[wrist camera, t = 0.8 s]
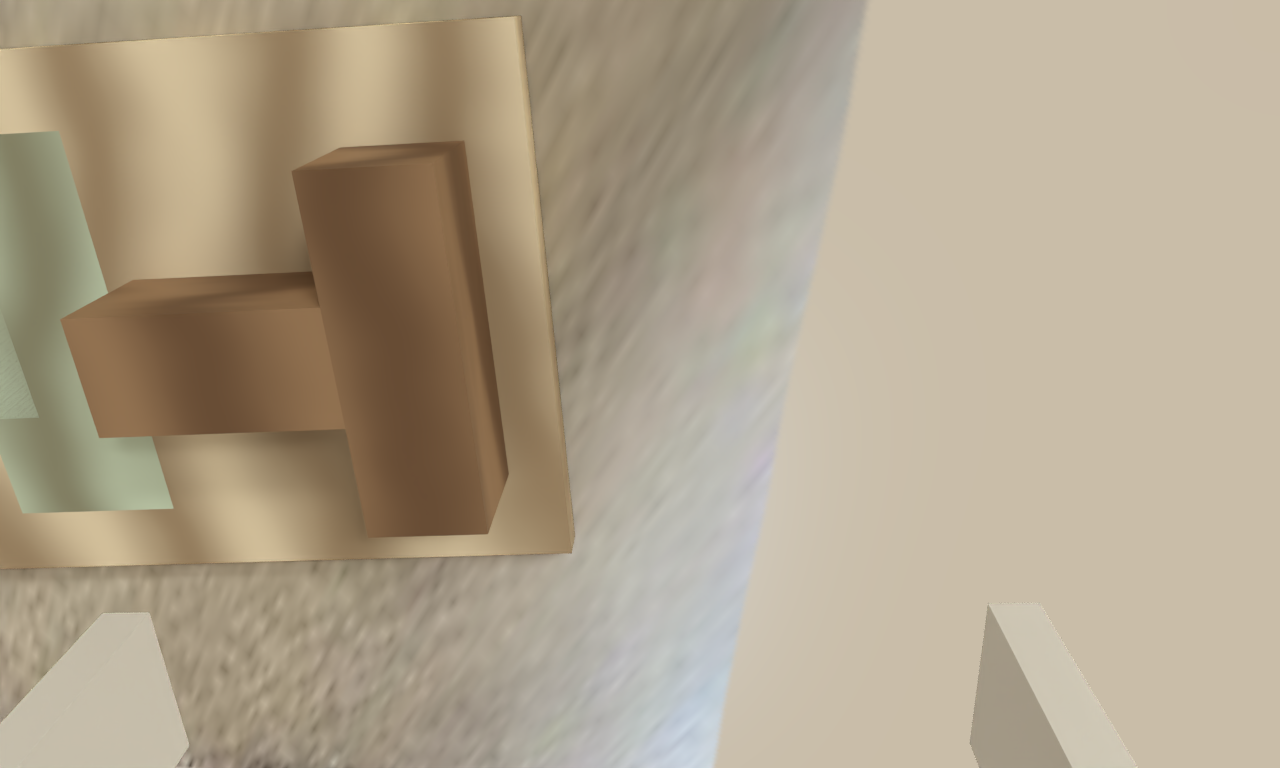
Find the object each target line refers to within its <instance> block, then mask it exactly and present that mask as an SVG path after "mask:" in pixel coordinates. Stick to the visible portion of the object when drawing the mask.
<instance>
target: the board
mask: <svg viewBox="0 0 1280 768" xmlns="http://www.w3.org/2000/svg"><path fill="white" fill-rule="evenodd" d="M446 141H465V149H466V156H467V164H468V171H469V179H470V186H471V194H472V201H473V209H474V216H475V224H476V231H477V239H478V246H479V254H480V261H481V269H482V276H483V284H484V291H485V299H486V306H487V314H488V321H489V329H490V336H491V344H492V351H493V359H494V366H495V374H496V381H497V389H498V396H499V404H500V411H501V419H502V426H503V434H504V441H505V449H506V456H507V464H508V471H509V475H508V478H507V481H506V484H505V487H504V490H503V493H502V496H501V498H500V501H499V504H498V507H497V510H496V513H495V516H494V518H493V521H492V524H491V527H490V530H489V533H488V534H483V535H449V536H414V537H380V538H368V535H367V530H366V525H365V520H364V516H363V511H362V506H361V501H360V496H359V492H358V487H357V482H356V477H355V473H354V468H353V463H352V458H351V454H350V449H349V444H348V439H347V434H346V430H345V429H336V430H309V431H282V432H254V433H227V434H200V435H172V436H145V437H118V438H99V436H98V433H97V430H96V427H95V424H94V421H93V418H92V415H91V412H90V409H89V406H88V403H87V400H86V397H85V394H84V391H83V388H82V385H81V382H80V379H79V376H78V373H77V369H76V366H75V363H74V360H73V357H72V354H71V351H70V348H69V345H68V342H67V339H66V336H65V333H64V330H63V327H62V324H61V321H60V319H62V318H63V317H65V316H67V315H69V314H71V313H73V312H75V311H76V310H78V309H80V308H82V307H84V306H86V305H87V304H89V303H91V302H93V301H95V300H97V299H98V298H100V297H102V296H104V295H106V294H108V293H110V292H111V291H113V290H115V289H117V288H119V287H121V286H122V285H124V284H126V283H128V282H130V281H132V280H141V279H163V278H184V277H205V276H226V275H247V274H268V273H289V272H310V271H312V267H311V263H310V258H309V253H308V248H307V244H306V239H305V234H304V229H303V225H302V220H301V215H300V210H299V205H298V201H297V196H296V191H295V186H294V182H293V177H292V172H291V171H292V170H294V169H297V168H299V167H301V166H303V165H305V164H307V163H309V162H311V161H313V160H315V159H317V158H319V157H321V156H323V155H326V154H328V153H330V152H332V151H334V150H336V149H338V148H340V147H356V146H374V145H392V144H410V143H428V142H446ZM574 538H575V532H574V523H573V513H572V503H571V494H570V484H569V474H568V465H567V455H566V446H565V436H564V426H563V417H562V407H561V397H560V388H559V378H558V369H557V359H556V349H555V340H554V330H553V320H552V311H551V301H550V291H549V282H548V272H547V263H546V253H545V243H544V234H543V224H542V214H541V205H540V195H539V186H538V176H537V166H536V157H535V147H534V137H533V128H532V118H531V108H530V99H529V89H528V80H527V70H526V60H525V51H524V41H523V31H522V22H521V16H509V17H493V18H477V19H462V20H446V21H430V22H415V23H399V24H384V25H368V26H352V27H337V28H321V29H305V30H290V31H274V32H259V33H243V34H227V35H212V36H196V37H180V38H165V39H149V40H134V41H118V42H102V43H87V44H71V45H55V46H40V47H24V48H9V49H0V569H19V568H55V567H91V566H127V565H163V564H199V563H235V562H271V561H307V560H343V559H379V558H415V557H451V556H487V555H523V554H559V553H572V548H573V543H574Z"/></svg>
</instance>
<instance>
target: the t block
mask: <svg viewBox="0 0 1280 768" xmlns="http://www.w3.org/2000/svg"><path fill="white" fill-rule="evenodd" d="M291 172H292V177H293V182H294V186H295V191H296V196H297V201H298V205H299V210H300V215H301V220H302V225H303V229H304V234H305V239H306V244H307V248H308V253H309V258H310V263H311V267H312V271H310V272H289V273H268V274H247V275H226V276H205V277H184V278H163V279H141V280H132V281H130V282H128V283H126V284H124V285H122V286H121V287H119V288H117V289H115V290H113V291H111V292H110V293H108V294H106V295H104V296H102V297H100V298H98V299H97V300H95V301H93V302H91V303H89V304H87V305H86V306H84V307H82V308H80V309H78V310H76V311H75V312H73V313H71V314H69V315H67V316H65V317H63V318H62V319H60V321H61V324H62V327H63V330H64V333H65V336H66V339H67V342H68V345H69V348H70V351H71V354H72V357H73V360H74V363H75V366H76V369H77V373H78V376H79V379H80V382H81V385H82V388H83V391H84V394H85V397H86V400H87V403H88V406H89V409H90V412H91V415H92V418H93V421H94V424H95V427H96V430H97V433H98V436H99V438H118V437H145V436H172V435H200V434H227V433H254V432H282V431H309V430H336V429H345V430H346V434H347V439H348V444H349V449H350V454H351V458H352V463H353V468H354V473H355V477H356V482H357V487H358V492H359V496H360V501H361V506H362V511H363V516H364V520H365V525H366V530H367V535H368V538H380V537H414V536H449V535H483V534H488V533H489V530H490V527H491V524H492V521H493V518H494V516H495V513H496V510H497V507H498V504H499V501H500V498H501V496H502V493H503V490H504V487H505V484H506V481H507V478H508V475H509V471H508V464H507V456H506V449H505V441H504V434H503V426H502V419H501V411H500V404H499V396H498V389H497V381H496V374H495V366H494V359H493V351H492V344H491V336H490V329H489V321H488V314H487V306H486V299H485V291H484V284H483V276H482V269H481V261H480V254H479V246H478V239H477V231H476V224H475V216H474V209H473V201H472V194H471V186H470V179H469V171H468V164H467V156H466V149H465V141H446V142H428V143H410V144H392V145H374V146H356V147H340V148H338V149H336V150H334V151H332V152H330V153H328V154H326V155H323V156H321V157H319V158H317V159H315V160H313V161H311V162H309V163H307V164H305V165H303V166H301V167H299V168H297V169H294V170H292V171H291Z"/></svg>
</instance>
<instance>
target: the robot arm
mask: <svg viewBox="0 0 1280 768" xmlns="http://www.w3.org/2000/svg"><path fill="white" fill-rule="evenodd" d="M970 745H971V747H972V750H973V753H974V755H975V758H976V760H977V763H978V765H979V768H1138V767H1137V765H1136V763H1135V762H1134V760H1133V758H1132V757H1131V755H1130V753H1129V752H1128V750H1127V748H1126V747H1125V745H1124V743H1123V742H1122V740H1121V738H1120V737H1119V735H1118V733H1117V732H1116V730H1115V728H1114V727H1113V725H1112V723H1111V722H1110V720H1109V718H1108V717H1107V715H1106V713H1105V712H1104V710H1103V708H1102V707H1101V705H1100V703H1099V702H1098V700H1097V698H1096V697H1095V695H1094V693H1093V691H1092V690H1091V688H1090V686H1089V685H1088V683H1087V681H1086V680H1085V678H1084V676H1083V675H1082V673H1081V671H1080V670H1079V668H1078V667H1077V665H1076V663H1075V661H1074V660H1073V658H1072V656H1071V655H1070V653H1069V651H1068V650H1067V648H1066V647H1065V645H1064V643H1063V641H1062V640H1061V638H1060V636H1059V635H1058V633H1057V631H1056V629H1055V628H1054V626H1053V624H1052V623H1051V621H1050V620H1049V618H1048V616H1047V614H1046V613H1045V611H1044V609H1043V608H1042V606H1041V604H1040V603H988V608H987V616H986V623H985V631H984V638H983V646H982V654H981V661H980V669H979V676H978V684H977V692H976V699H975V707H974V714H973V722H972V730H971V737H970ZM189 746H190V745H189V742H188V739H187V735H186V732H185V729H184V725H183V722H182V719H181V715H180V712H179V709H178V705H177V702H176V699H175V696H174V692H173V689H172V686H171V682H170V679H169V676H168V672H167V669H166V666H165V662H164V659H163V656H162V653H161V649H160V646H159V643H158V639H157V636H156V633H155V629H154V626H153V623H152V619H151V616H150V613H149V612H136V613H102V614H101V615H100V616H99V617H98V618H97V619H96V620H95V621H94V623H93V624H92V625H91V626H90V627H89V628H88V629H87V630H86V631H85V632H84V633H83V634H82V636H81V637H80V638H79V639H78V640H77V641H76V642H75V643H74V644H73V645H72V646H71V647H70V649H69V650H68V651H67V652H66V653H65V654H64V655H63V656H62V657H61V658H60V659H59V660H58V661H57V663H56V664H55V665H54V666H53V667H52V668H51V669H50V670H49V671H48V672H47V673H46V674H45V676H44V677H43V678H42V679H41V680H40V681H39V682H38V683H37V684H36V685H35V686H34V687H33V688H32V690H31V691H30V692H29V693H28V694H27V695H26V696H25V697H24V698H23V699H22V700H21V701H20V703H19V704H18V705H17V706H16V707H15V708H14V709H13V710H12V711H11V712H10V713H9V714H8V715H7V717H6V718H5V719H4V720H3V721H2V722H1V723H0V768H175V767H176V766H177V764H178V763H179V761H180V760H181V758H182V757H183V755H184V754H185V752H186V750H187V749H188V747H189Z"/></svg>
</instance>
